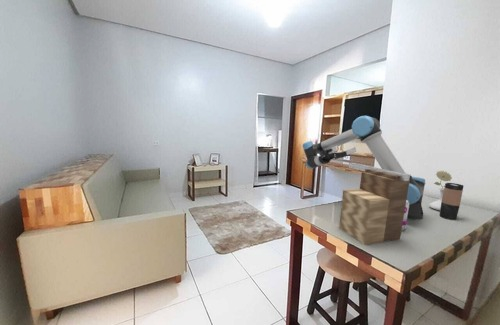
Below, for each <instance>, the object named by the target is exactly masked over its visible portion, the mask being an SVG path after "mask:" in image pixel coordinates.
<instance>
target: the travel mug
mask: <svg viewBox="0 0 500 325" xmlns="http://www.w3.org/2000/svg"><path fill="white" fill-rule="evenodd" d="M444 184H445V185H444V186H445V187H443V188H444V192H443V197H442V202H441V208H440V210H439V217H440V218H443V219H446V220H449V221H456V220H457V218H458V214H459V210H460V206H461V202H462V201H461V200H462V197H463V192H464V186H465V185H463V184H459V183H456V182H455V183H454V182H446V183H444Z"/></svg>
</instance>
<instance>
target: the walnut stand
mask: <svg viewBox="0 0 500 325" xmlns="http://www.w3.org/2000/svg"><path fill="white" fill-rule="evenodd" d="M398 178H399V176H395V175H391V174H386V173H382V172H378V171H374V170H369V169H365V171H361V175H360V184H359V188H354V189H352V188H351V189H343V190H342V196H341V197H342V198H341V206H340V215H339V223H338V228H339V229H340V230H342V231H344V232H345V233H347V235H349V236H351V237H353V238H354V239H355V240H357V241H358V242H360V243H362V244H363V245H365V246H367V245H372V244H378V243H379V244H380V243H384V242H390V241H396V240H397V241H398V240H400V239H401V235H402V231H401V230H402V224H403V218H404V212H405V206H406V200H407V193H408V187H409V181H410V179H409V181H402V180H398Z"/></svg>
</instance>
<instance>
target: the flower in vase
mask: <svg viewBox="0 0 500 325" xmlns="http://www.w3.org/2000/svg"><path fill="white" fill-rule="evenodd" d="M435 175H436V177H437V178H438V179H439V180H440V182H439V181H436V182H434V183H433V184H434V185H436V186H441V187H438V189H439V192H440V193H439V194H440V197H439V199H438V200H435V201H433V202H430V203H429V204H428V206H429V208H431V209H434V210H436V211H440V208H441V202H442V197H443V192H444V187H445V185H442V182H451V180H452V178H453V177H452V176H451V175H452V174H450V173H449V172H447V171H444V170H440V171H439V170H438V171H436V173H435Z"/></svg>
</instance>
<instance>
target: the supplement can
mask: <svg viewBox="0 0 500 325" xmlns="http://www.w3.org/2000/svg"><path fill="white" fill-rule="evenodd" d="M408 209H409V202H408V200H406V206H405V212H404V218H403V224H402V230H401V232H404V230H406V226H407V222H408V218H407V215H408Z"/></svg>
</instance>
